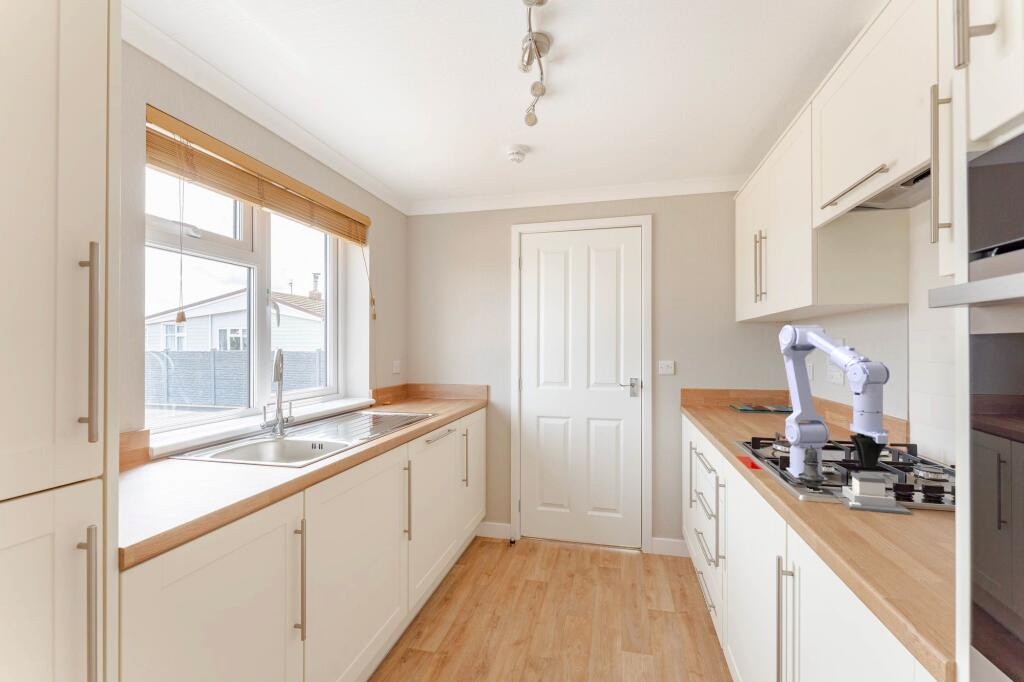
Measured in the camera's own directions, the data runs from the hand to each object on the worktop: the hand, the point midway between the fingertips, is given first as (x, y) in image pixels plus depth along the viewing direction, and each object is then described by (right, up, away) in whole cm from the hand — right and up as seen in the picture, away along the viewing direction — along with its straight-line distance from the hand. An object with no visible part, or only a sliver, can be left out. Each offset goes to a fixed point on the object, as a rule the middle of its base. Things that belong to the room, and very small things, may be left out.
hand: (867, 466), depth 111 cm
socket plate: (0, -9, 0) cm, 9 cm away
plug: (0, -8, 0) cm, 8 cm away
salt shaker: (-8, -9, +10) cm, 15 cm away
